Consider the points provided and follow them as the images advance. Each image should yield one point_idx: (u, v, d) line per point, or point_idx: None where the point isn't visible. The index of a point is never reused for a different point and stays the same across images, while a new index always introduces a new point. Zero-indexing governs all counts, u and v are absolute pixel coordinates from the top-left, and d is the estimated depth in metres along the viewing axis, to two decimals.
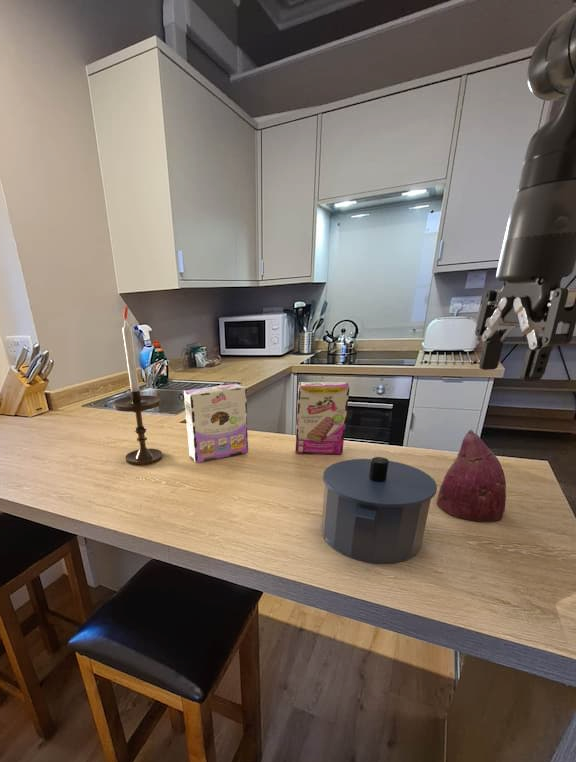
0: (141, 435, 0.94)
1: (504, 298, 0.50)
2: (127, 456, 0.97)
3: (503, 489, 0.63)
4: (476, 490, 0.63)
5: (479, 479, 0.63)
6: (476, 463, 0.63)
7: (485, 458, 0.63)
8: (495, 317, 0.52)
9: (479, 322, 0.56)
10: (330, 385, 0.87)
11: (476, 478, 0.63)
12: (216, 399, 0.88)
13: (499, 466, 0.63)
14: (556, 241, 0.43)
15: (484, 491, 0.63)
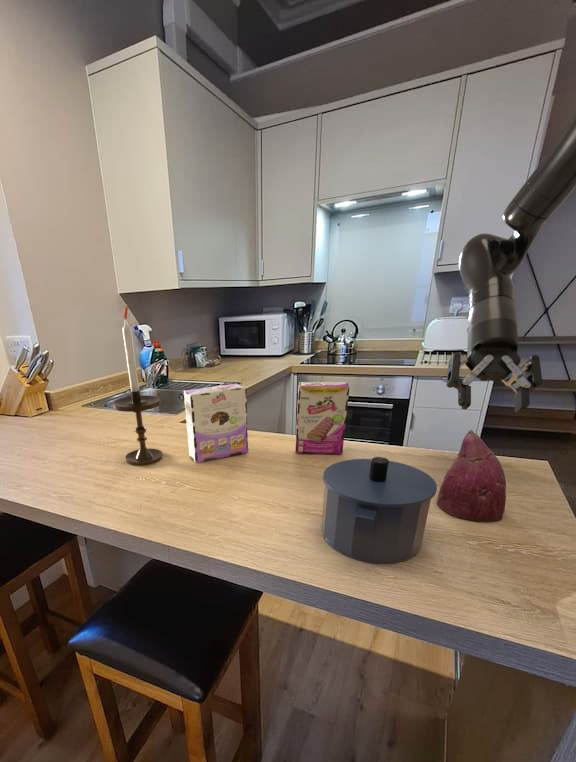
0: (141, 435, 0.94)
1: None
2: (127, 456, 0.97)
3: (503, 489, 0.63)
4: (476, 490, 0.63)
5: (479, 479, 0.63)
6: (476, 463, 0.63)
7: (485, 458, 0.63)
8: None
9: None
10: (330, 385, 0.87)
11: (476, 478, 0.63)
12: (216, 399, 0.88)
13: (499, 466, 0.63)
14: (468, 337, 0.74)
15: (484, 491, 0.63)
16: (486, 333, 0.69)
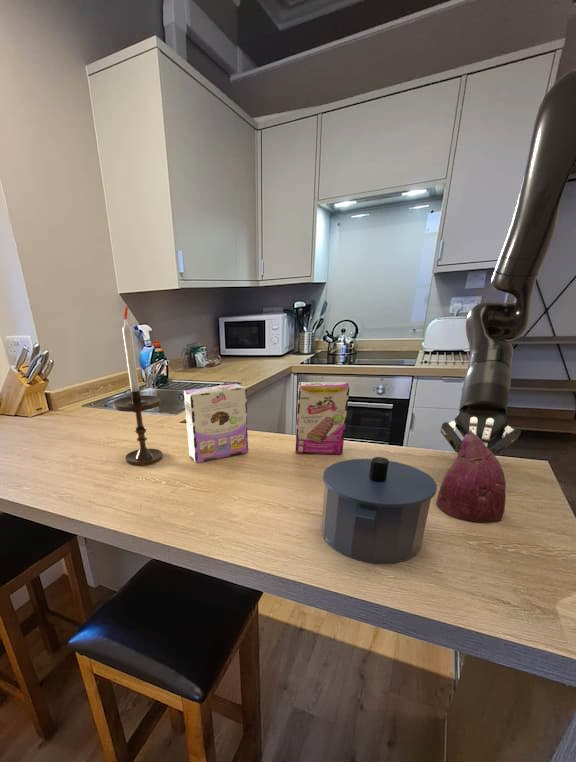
0: (141, 435, 0.94)
1: None
2: (127, 456, 0.97)
3: (503, 490, 0.63)
4: (475, 491, 0.63)
5: (479, 480, 0.62)
6: (476, 464, 0.63)
7: (485, 458, 0.63)
8: None
9: (497, 450, 0.72)
10: (330, 385, 0.87)
11: (476, 478, 0.63)
12: (216, 399, 0.88)
13: (499, 466, 0.63)
14: None
15: (483, 491, 0.62)
16: (472, 396, 0.73)
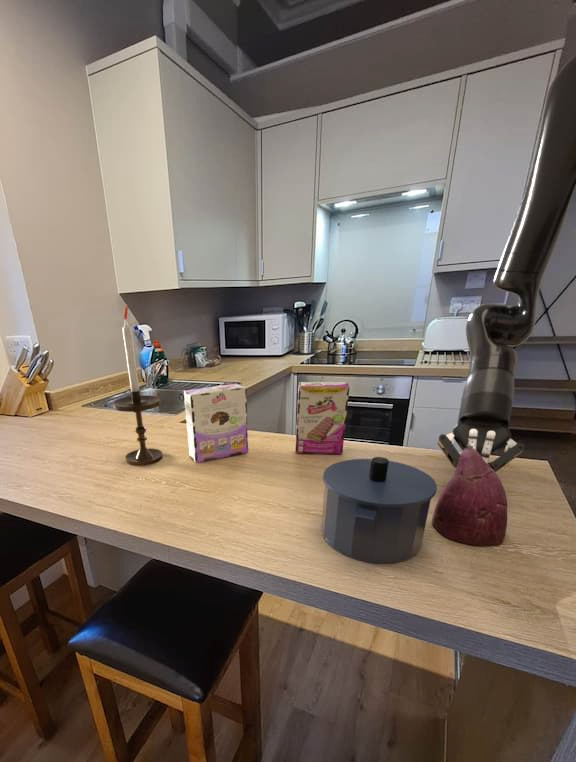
0: (141, 435, 0.94)
1: None
2: (127, 456, 0.97)
3: (504, 511, 0.57)
4: (474, 512, 0.57)
5: (478, 500, 0.57)
6: (474, 482, 0.57)
7: (485, 476, 0.57)
8: None
9: None
10: (330, 385, 0.87)
11: (474, 498, 0.57)
12: (216, 399, 0.88)
13: (500, 485, 0.57)
14: None
15: (483, 512, 0.57)
16: (472, 406, 0.67)
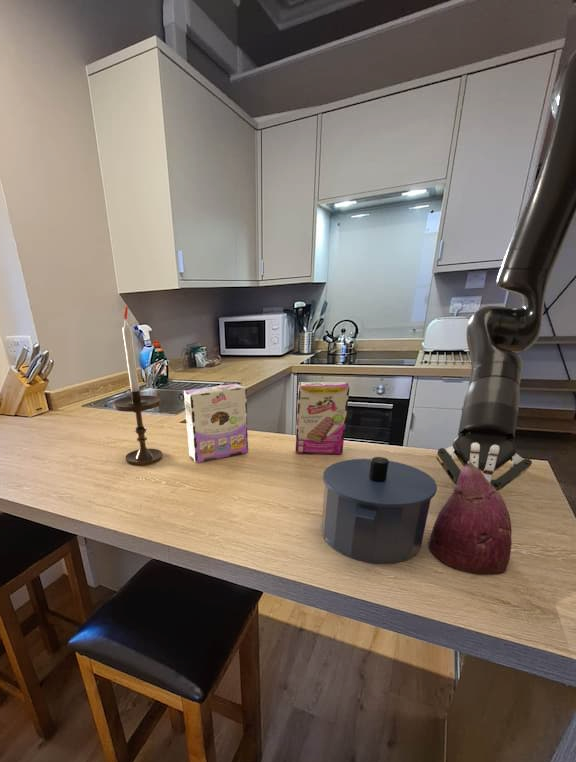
0: (141, 435, 0.94)
1: None
2: (127, 456, 0.97)
3: (508, 536, 0.51)
4: (473, 537, 0.52)
5: (478, 523, 0.51)
6: (474, 503, 0.52)
7: (486, 497, 0.52)
8: None
9: None
10: (330, 385, 0.87)
11: (474, 521, 0.51)
12: (216, 399, 0.88)
13: (503, 507, 0.52)
14: None
15: (483, 538, 0.51)
16: (473, 418, 0.61)
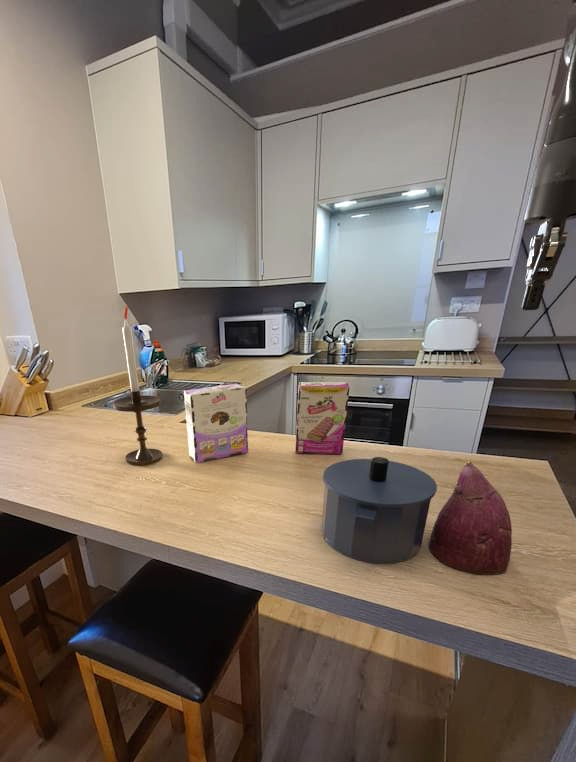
0: (141, 435, 0.94)
1: (532, 237, 0.62)
2: (127, 456, 0.97)
3: (508, 536, 0.51)
4: (473, 537, 0.51)
5: (478, 523, 0.51)
6: (475, 504, 0.52)
7: (486, 497, 0.52)
8: (529, 257, 0.63)
9: (527, 270, 0.66)
10: (330, 385, 0.87)
11: (474, 522, 0.51)
12: (216, 399, 0.88)
13: (503, 508, 0.52)
14: (559, 187, 0.56)
15: (483, 538, 0.51)
16: None
